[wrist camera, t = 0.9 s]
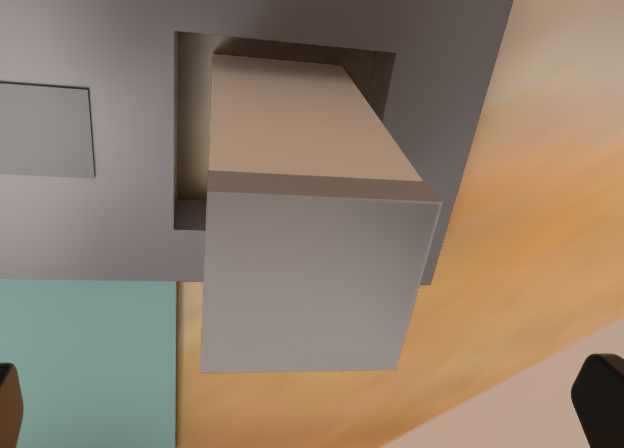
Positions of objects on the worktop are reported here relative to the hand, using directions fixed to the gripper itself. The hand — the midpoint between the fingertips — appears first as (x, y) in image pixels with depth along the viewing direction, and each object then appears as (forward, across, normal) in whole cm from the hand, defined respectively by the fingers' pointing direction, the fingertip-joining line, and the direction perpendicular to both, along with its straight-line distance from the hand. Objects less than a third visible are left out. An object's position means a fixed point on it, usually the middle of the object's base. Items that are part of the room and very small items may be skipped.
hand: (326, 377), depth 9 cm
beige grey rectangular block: (+11, 0, 0) cm, 11 cm away
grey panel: (+11, +3, 0) cm, 11 cm away
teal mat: (+11, +8, +11) cm, 17 cm away
